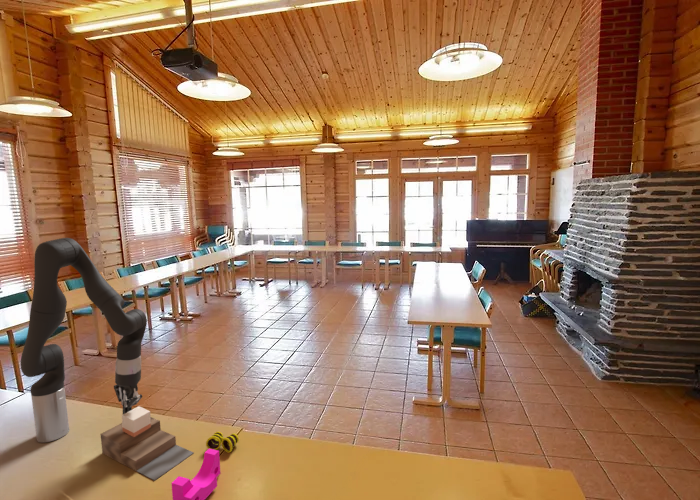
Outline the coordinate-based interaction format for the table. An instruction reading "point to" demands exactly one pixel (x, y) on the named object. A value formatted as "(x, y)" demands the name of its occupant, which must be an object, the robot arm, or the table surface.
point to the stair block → (144, 450)
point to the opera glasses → (222, 441)
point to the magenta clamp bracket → (199, 479)
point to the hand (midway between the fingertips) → (127, 414)
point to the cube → (136, 421)
